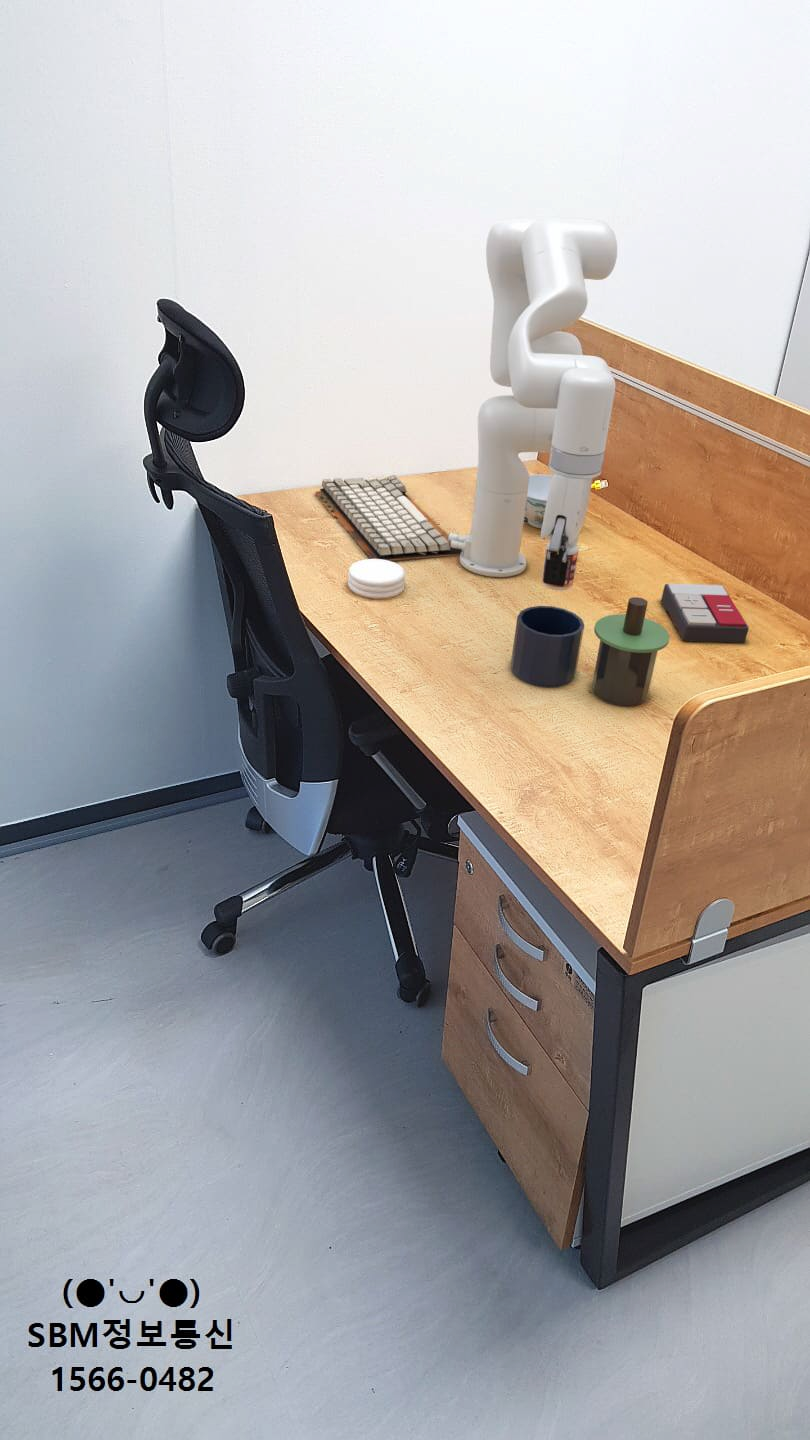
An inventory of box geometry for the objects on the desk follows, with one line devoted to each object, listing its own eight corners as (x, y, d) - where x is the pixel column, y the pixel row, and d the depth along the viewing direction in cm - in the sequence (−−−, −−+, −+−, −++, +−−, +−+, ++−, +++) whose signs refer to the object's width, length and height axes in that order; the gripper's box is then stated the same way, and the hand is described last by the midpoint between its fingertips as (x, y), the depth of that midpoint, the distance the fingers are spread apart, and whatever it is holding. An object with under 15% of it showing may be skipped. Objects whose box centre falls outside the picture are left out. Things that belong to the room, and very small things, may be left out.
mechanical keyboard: (466, 555, 211) (467, 538, 209) (373, 565, 204) (374, 548, 203) (393, 485, 240) (394, 471, 238) (310, 493, 233) (310, 477, 232)
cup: (586, 698, 168) (596, 644, 163) (597, 673, 175) (607, 620, 170) (642, 712, 166) (654, 657, 161) (651, 685, 173) (663, 632, 168)
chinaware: (498, 527, 224) (502, 491, 219) (520, 504, 235) (525, 469, 231) (569, 543, 219) (575, 506, 215) (588, 518, 231) (594, 483, 227)
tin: (503, 678, 172) (510, 627, 167) (519, 650, 180) (526, 600, 175) (567, 693, 169) (576, 642, 164) (580, 664, 177) (589, 614, 172)
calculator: (687, 622, 184) (665, 579, 197) (682, 644, 187) (660, 600, 199) (751, 624, 185) (724, 581, 198) (744, 646, 188) (718, 602, 200)
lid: (586, 646, 162) (593, 608, 159) (601, 615, 171) (607, 579, 168) (662, 663, 160) (670, 625, 156) (673, 630, 169) (681, 594, 165)
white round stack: (383, 571, 202) (384, 553, 200) (415, 592, 195) (416, 574, 193) (337, 582, 197) (337, 564, 195) (368, 604, 190) (369, 586, 188)
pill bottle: (574, 592, 164) (583, 540, 160) (542, 590, 164) (550, 537, 160) (570, 578, 168) (579, 527, 164) (540, 576, 168) (547, 525, 164)
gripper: (563, 438, 164) (546, 552, 173) (536, 473, 150) (519, 594, 160) (613, 447, 162) (593, 561, 172) (590, 483, 148) (570, 604, 158)
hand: (558, 575), depth 166 cm, fingers closed on pill bottle, 4 cm apart
